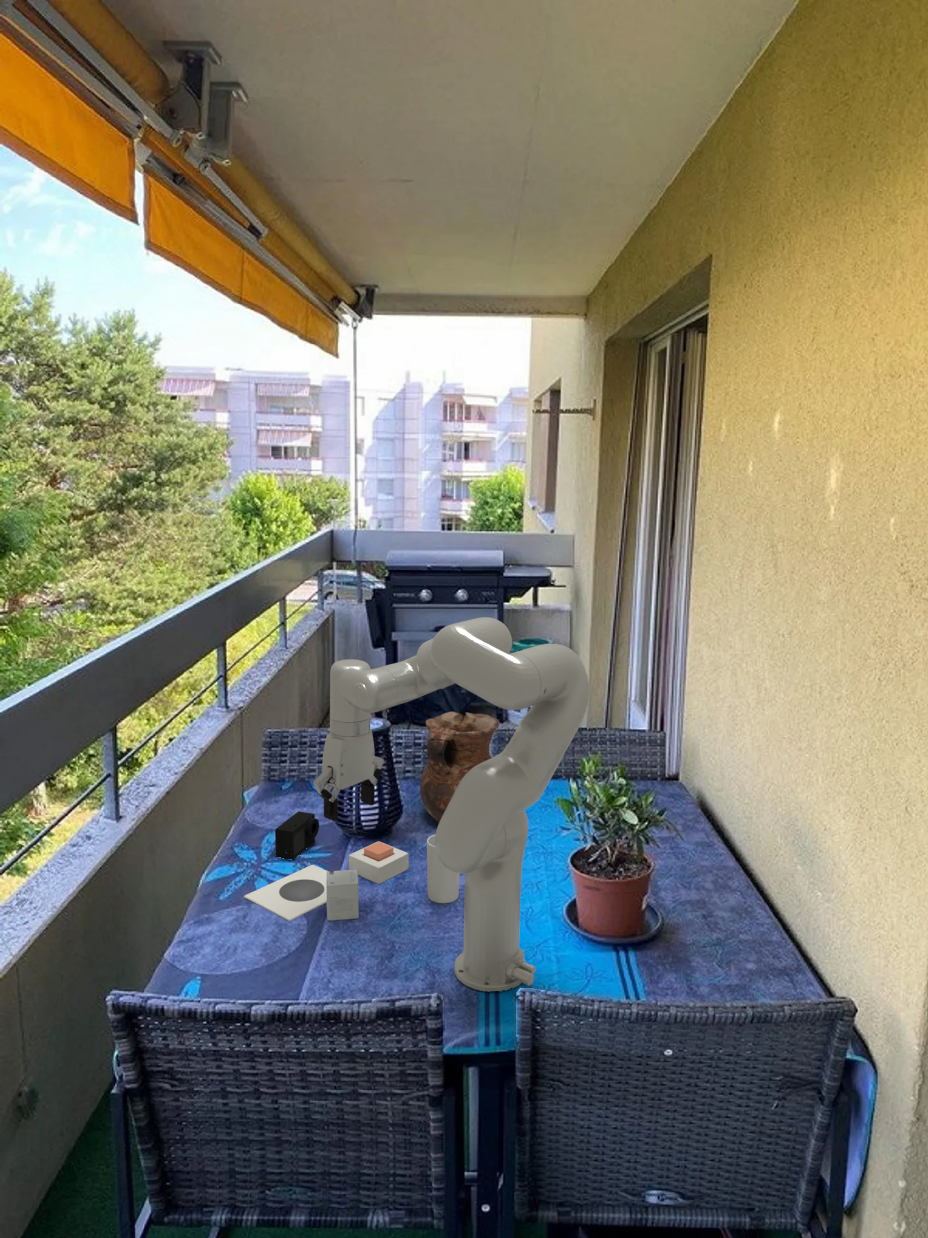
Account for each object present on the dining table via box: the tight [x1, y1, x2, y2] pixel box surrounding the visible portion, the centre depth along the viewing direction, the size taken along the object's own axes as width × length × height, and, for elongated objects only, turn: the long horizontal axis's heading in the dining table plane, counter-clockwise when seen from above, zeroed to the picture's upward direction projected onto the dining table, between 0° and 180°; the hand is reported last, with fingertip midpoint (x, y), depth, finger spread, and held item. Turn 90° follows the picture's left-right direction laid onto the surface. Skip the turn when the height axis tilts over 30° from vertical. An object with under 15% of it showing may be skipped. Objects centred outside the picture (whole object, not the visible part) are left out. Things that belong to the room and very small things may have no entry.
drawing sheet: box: [243, 864, 328, 922], centre depth 179 cm, size 14×18×1 cm
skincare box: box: [326, 869, 360, 922], centre depth 171 cm, size 6×6×7 cm
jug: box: [419, 711, 501, 824], centre depth 214 cm, size 22×21×25 cm
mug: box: [426, 833, 461, 904], centre depth 178 cm, size 10×7×12 cm, turn 167°
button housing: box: [348, 840, 410, 885], centre depth 188 cm, size 9×9×4 cm
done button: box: [363, 841, 394, 862], centre depth 188 cm, size 4×4×2 cm
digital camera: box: [274, 811, 320, 861], centre depth 196 cm, size 10×5×7 cm, turn 161°
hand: (349, 811), depth 169 cm, fingers open, 9 cm apart
